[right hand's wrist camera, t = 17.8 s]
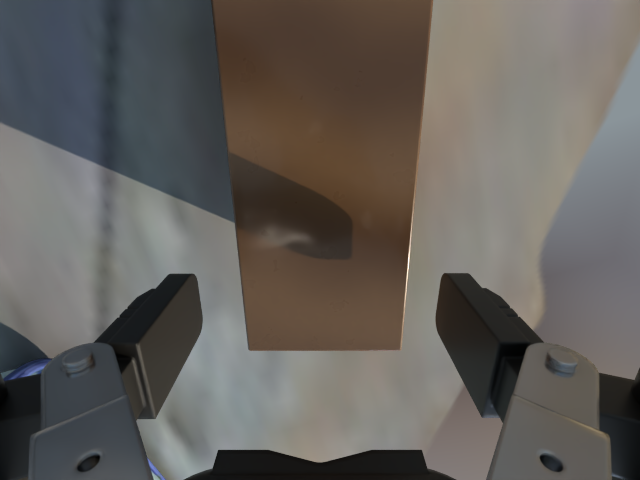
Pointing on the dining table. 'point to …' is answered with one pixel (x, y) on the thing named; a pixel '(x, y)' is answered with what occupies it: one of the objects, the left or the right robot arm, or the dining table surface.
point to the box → (323, 164)
